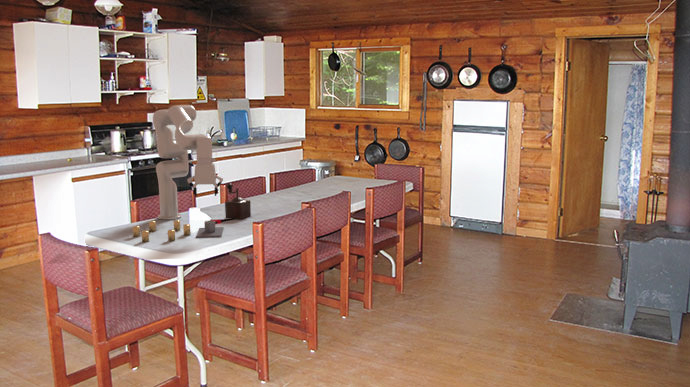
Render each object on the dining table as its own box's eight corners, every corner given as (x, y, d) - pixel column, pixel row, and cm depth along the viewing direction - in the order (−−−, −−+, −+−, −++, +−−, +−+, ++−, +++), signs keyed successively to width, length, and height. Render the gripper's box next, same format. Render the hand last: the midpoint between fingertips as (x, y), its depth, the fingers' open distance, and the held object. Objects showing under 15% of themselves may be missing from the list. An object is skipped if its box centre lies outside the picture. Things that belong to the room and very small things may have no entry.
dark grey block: (205, 230, 310) (205, 220, 309) (215, 230, 311) (215, 220, 310) (204, 233, 305) (204, 223, 304) (214, 232, 305) (214, 222, 304)
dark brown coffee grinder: (252, 216, 347) (251, 184, 344) (240, 220, 337) (239, 187, 334) (230, 213, 354) (229, 182, 351) (217, 217, 344) (216, 185, 341)
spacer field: (137, 230, 313) (137, 221, 312) (192, 229, 316) (192, 219, 315) (128, 242, 289) (127, 232, 288) (187, 240, 293) (187, 230, 292)
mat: (199, 229, 316) (199, 227, 316) (223, 228, 317) (223, 227, 317) (196, 237, 298) (196, 236, 298) (221, 237, 300) (221, 235, 300)
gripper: (222, 160, 308) (223, 193, 311) (187, 160, 305) (188, 194, 308) (222, 162, 300) (223, 196, 303) (185, 162, 298) (187, 197, 301)
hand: (205, 195), depth 306 cm, fingers open, 9 cm apart
